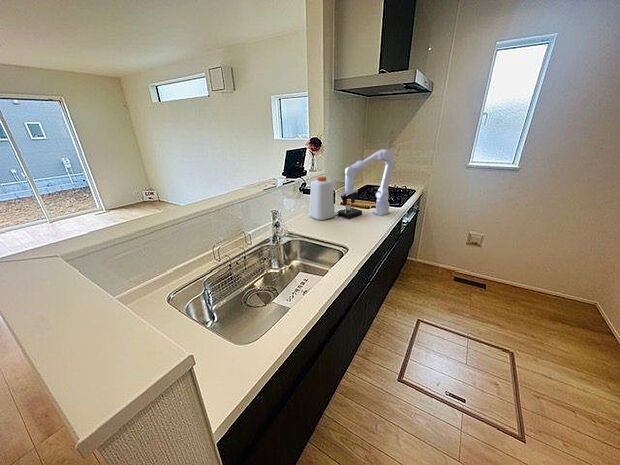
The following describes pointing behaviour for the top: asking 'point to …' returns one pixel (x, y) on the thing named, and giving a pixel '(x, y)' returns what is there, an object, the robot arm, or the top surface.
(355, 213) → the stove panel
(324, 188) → the plastic bottle
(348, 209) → the knob
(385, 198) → the robot arm
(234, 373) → the top surface
